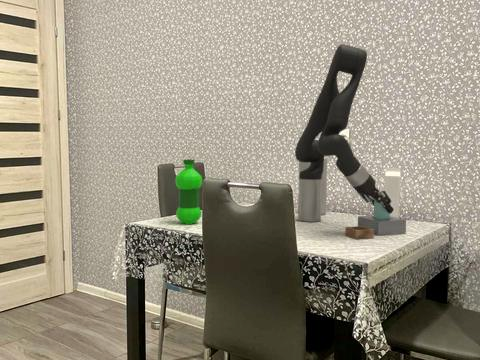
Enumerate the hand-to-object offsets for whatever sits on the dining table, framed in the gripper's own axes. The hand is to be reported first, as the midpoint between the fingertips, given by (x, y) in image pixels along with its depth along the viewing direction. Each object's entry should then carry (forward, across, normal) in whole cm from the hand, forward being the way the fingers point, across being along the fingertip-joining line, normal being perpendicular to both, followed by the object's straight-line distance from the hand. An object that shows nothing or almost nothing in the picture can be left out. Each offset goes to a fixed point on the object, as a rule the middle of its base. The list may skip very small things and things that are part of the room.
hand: (385, 210), depth 173 cm
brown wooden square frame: (-5, -6, +16) cm, 18 cm away
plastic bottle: (-39, +39, +50) cm, 75 cm away
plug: (+4, 0, +6) cm, 7 cm away
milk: (+19, +20, -8) cm, 29 cm away
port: (+4, 0, +7) cm, 8 cm away
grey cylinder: (+3, +47, +8) cm, 48 cm away
